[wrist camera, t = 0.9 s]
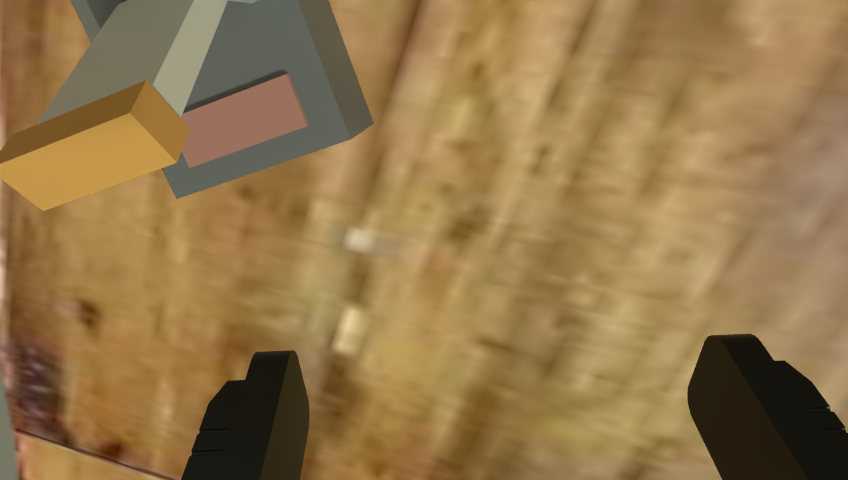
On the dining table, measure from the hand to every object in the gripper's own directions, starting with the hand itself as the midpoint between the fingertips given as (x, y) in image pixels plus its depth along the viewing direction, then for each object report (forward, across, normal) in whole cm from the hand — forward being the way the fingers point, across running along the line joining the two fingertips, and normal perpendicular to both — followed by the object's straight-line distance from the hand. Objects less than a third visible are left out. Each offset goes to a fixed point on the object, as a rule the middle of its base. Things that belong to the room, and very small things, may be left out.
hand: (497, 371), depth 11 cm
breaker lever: (+24, +14, -2) cm, 28 cm away
